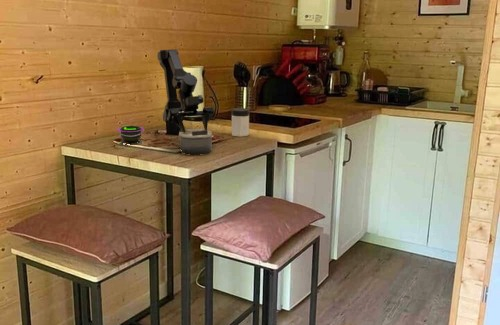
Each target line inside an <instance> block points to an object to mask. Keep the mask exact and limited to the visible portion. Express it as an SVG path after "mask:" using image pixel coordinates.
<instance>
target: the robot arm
mask: <svg viewBox="0 0 500 325" xmlns="http://www.w3.org/2000/svg"><path fill="white" fill-rule="evenodd" d="M157 60H158V62H159V66H160V67H161V68H162V70H163V73H164V82H165V90H166V97H167V98H166V99H167V101H166V103H165V106H164V111H163V113H162V120H163V121H164V123H165V133H164V135H165V136H167V135H169V136H179V131H181V130H182V131H183V132H184V133H185V129H186V127H185V124H184V122H183V121H184V118H185V117H187V118H188V117H189V118H191V117H192V118H193V117H201V119H202V120H201V121H202V125H203V129H205V130H206V131H207V130H208V123H209V121H210V120H212V119H213V115H214V114H215V109H214V107H212V106H204V107H203V108H202V110H199V105H200V104H203V103H204V101H205V100H204V97H203V96H204V95H202V94H198V95H196V96H195V95H194V94H193V93H194V92H195V90H196V86H197V82H198V78H197V77H196V76H195V75H193V74H192V73H191V72H187V71H185V70H184V68H183V65H182V62H181V59H180V56H179V51H178V50H177V49H160V50H159V51H158V52H157ZM177 90H178V91H177Z"/></svg>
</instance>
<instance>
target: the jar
mask: <svg viewBox="0 0 500 325" xmlns="http://www.w3.org/2000/svg"><path fill="white" fill-rule="evenodd" d="M231 136H233V137H238V138H239V137H240V138H241V137H248V136H250V109H249V108H247V107H246V108H245V107H236V108H231Z"/></svg>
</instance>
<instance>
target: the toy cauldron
mask: <svg viewBox="0 0 500 325" xmlns="http://www.w3.org/2000/svg"><path fill="white" fill-rule="evenodd" d="M133 119H134V120H133V121H135V120H136V119H135V118H133ZM125 120H126V121H129V119H128V120H127V119H124V122H121V123H120V124H121V125H123V123H126V121H125ZM138 123H139V124H138V125H140V122H138ZM138 125H135V124H132V125H130V124H126V125H123V126H121V127H118V129H116V130H117V133H118V134H120V138H121V141H120V142H121V143H119V146H123V143H124V142H126V144H125V145H124V146H125V147H127V146H128V145H127V144H130V145H136V144H138V145H141V144H142V143H143V141H144V140H142V139H141V137H142V134H143V133H145V128H144V127H143V126H138ZM137 142H138V143H137Z"/></svg>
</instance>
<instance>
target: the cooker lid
mask: <svg viewBox="0 0 500 325" xmlns="http://www.w3.org/2000/svg"><path fill="white" fill-rule="evenodd" d="M212 135H213V132H212V130H210V129H207V131H206V130H205V129H204V128H187V129H186V128H185V133H184V132H183V131H182V130H181V131H179V135H178V136H180V137H183V138H191V139H200V138H207V137H210V136H212Z"/></svg>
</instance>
